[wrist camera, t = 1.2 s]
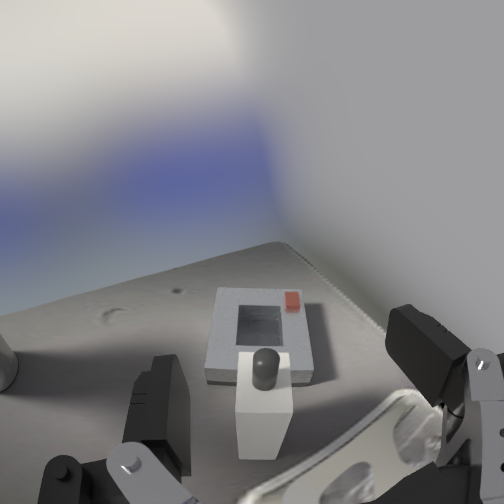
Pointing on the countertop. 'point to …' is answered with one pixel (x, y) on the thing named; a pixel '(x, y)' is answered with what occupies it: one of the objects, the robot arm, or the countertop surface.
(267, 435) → the plug
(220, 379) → the socket box
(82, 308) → the countertop surface
